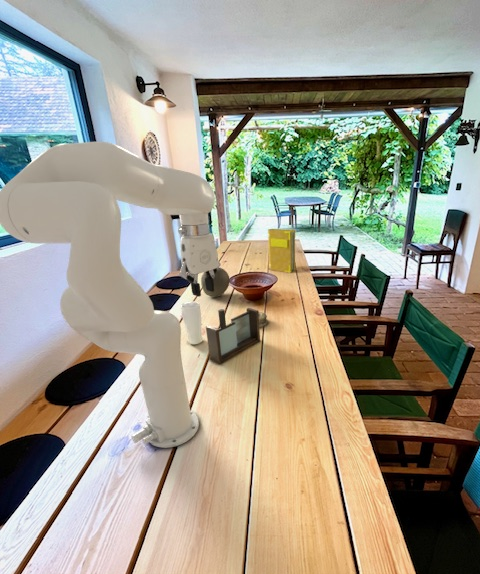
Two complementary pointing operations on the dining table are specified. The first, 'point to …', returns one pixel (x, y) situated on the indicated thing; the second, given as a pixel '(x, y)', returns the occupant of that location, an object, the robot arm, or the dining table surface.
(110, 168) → the robot arm
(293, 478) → the dining table surface
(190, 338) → the drinking glass
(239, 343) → the window frame
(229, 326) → the sliding pane
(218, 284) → the cantaloupe
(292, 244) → the book
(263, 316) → the cake
